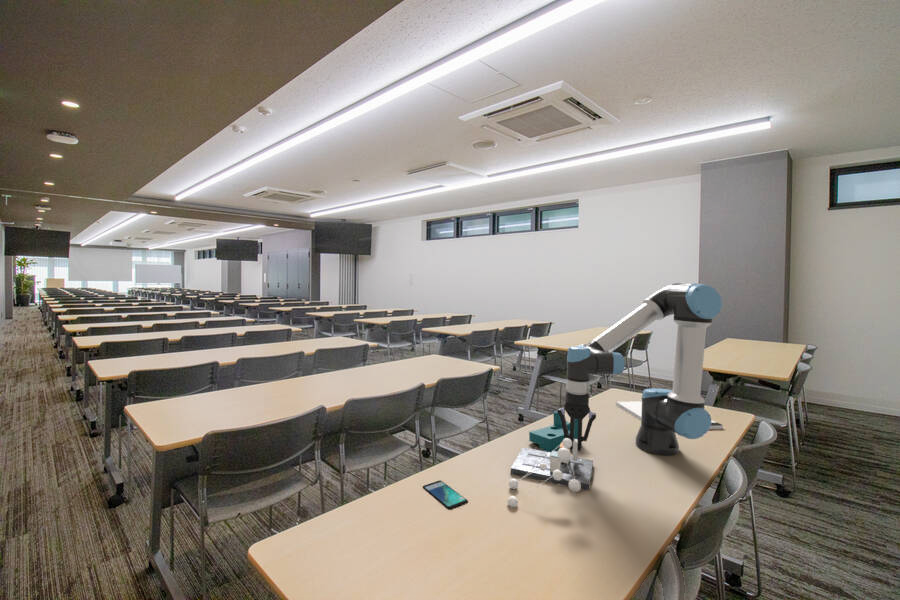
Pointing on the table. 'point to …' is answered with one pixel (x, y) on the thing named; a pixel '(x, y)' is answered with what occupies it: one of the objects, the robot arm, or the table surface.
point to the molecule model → (557, 474)
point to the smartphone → (445, 494)
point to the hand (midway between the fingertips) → (575, 458)
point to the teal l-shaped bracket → (552, 434)
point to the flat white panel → (636, 411)
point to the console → (533, 457)
